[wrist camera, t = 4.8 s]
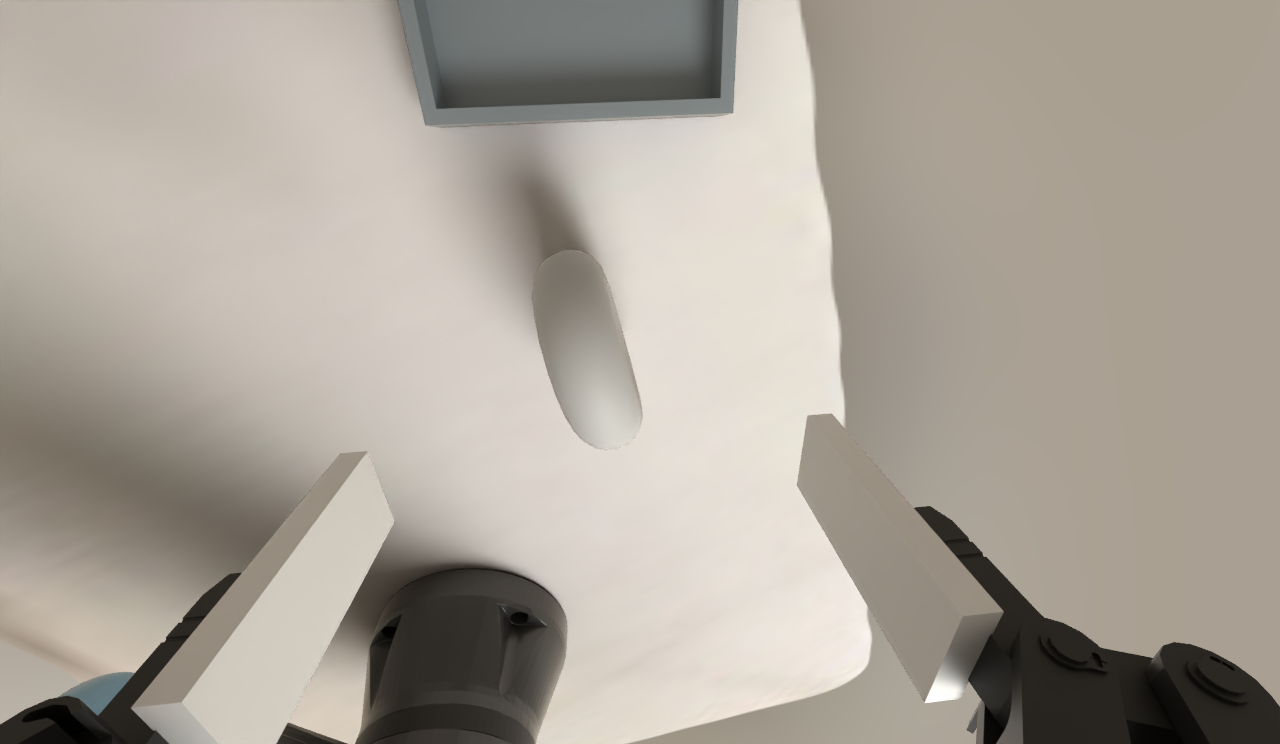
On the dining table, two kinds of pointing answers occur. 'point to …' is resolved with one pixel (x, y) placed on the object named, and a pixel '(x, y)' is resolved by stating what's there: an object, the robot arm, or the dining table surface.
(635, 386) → the donut
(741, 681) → the dining table surface
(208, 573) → the dining table surface
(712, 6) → the tray
